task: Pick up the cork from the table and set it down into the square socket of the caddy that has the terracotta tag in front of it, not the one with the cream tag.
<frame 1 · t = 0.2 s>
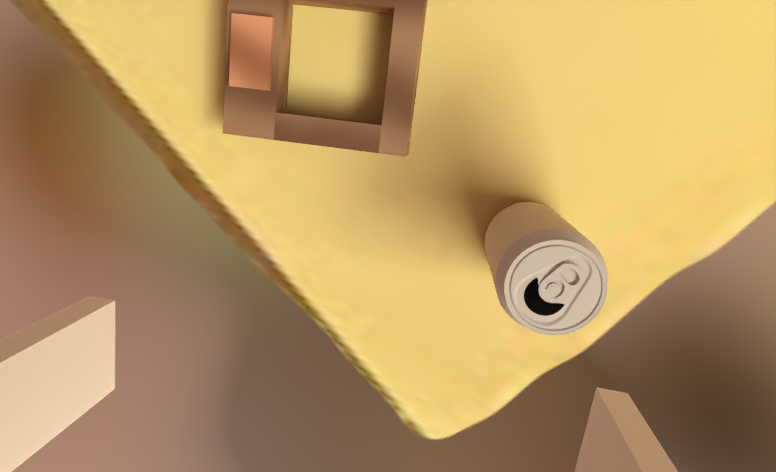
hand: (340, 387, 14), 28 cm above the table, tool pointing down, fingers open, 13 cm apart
beverage can: (524, 239, 40), on the table
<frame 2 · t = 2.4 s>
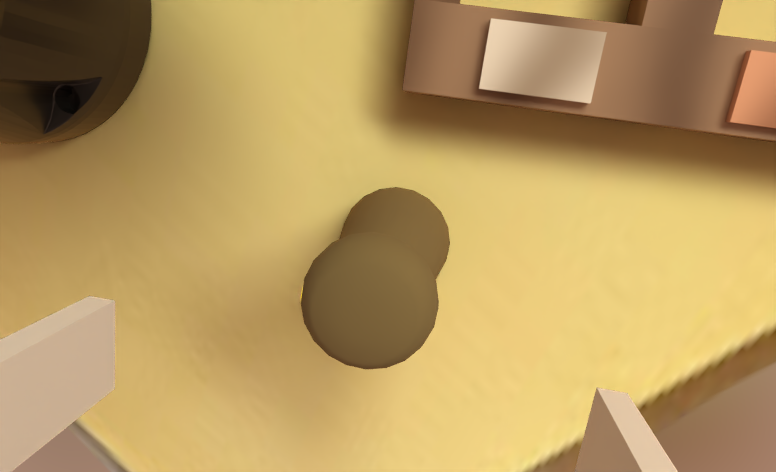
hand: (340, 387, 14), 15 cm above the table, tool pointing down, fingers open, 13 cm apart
cork: (395, 240, 28), on the table
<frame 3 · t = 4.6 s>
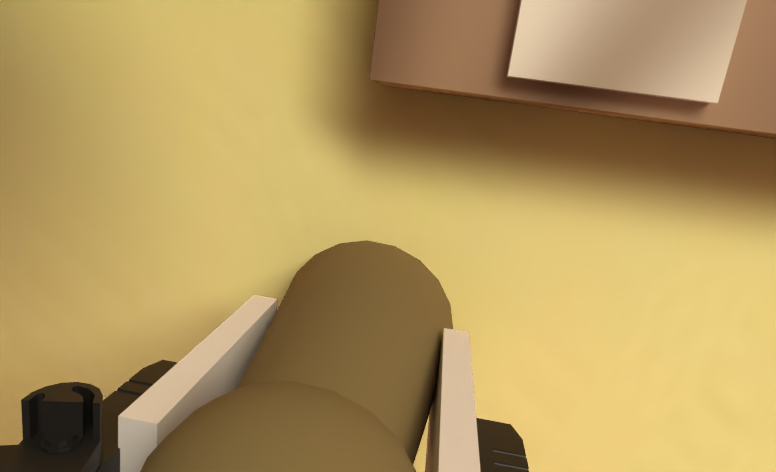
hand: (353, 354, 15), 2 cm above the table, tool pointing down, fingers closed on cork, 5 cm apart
cork: (367, 322, 18), on the table, touching gripper
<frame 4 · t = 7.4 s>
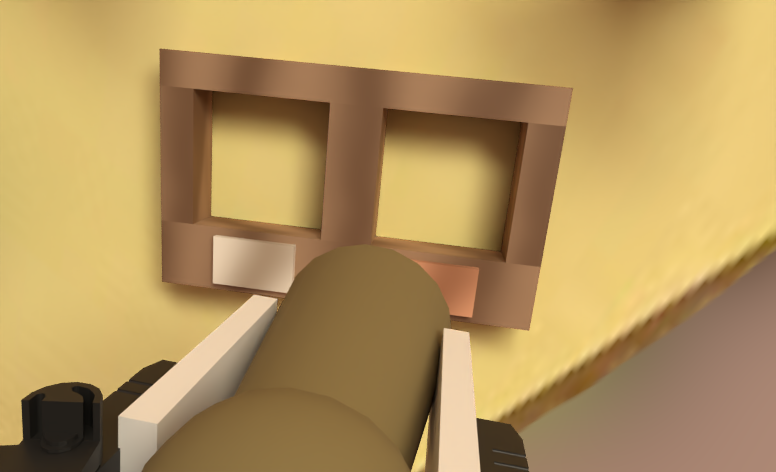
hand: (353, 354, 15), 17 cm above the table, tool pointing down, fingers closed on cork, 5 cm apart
cork: (365, 325, 18), point 15 cm above the table, touching gripper
caddy: (356, 187, 32), on the table
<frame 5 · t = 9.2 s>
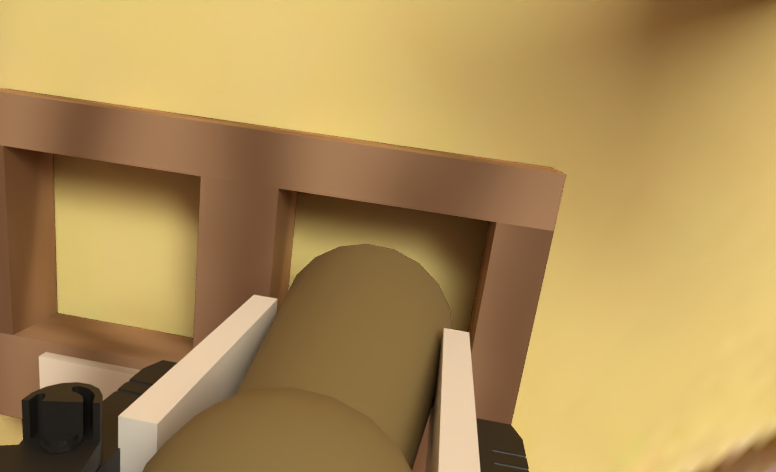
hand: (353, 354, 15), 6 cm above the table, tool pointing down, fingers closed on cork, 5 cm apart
cork: (366, 325, 18), point 4 cm above the table, touching gripper
caddy: (255, 286, 22), on the table
when the fingers open (3 cm above the table, at t = 10.4 s): cork drops 1 cm, resting in caddy.
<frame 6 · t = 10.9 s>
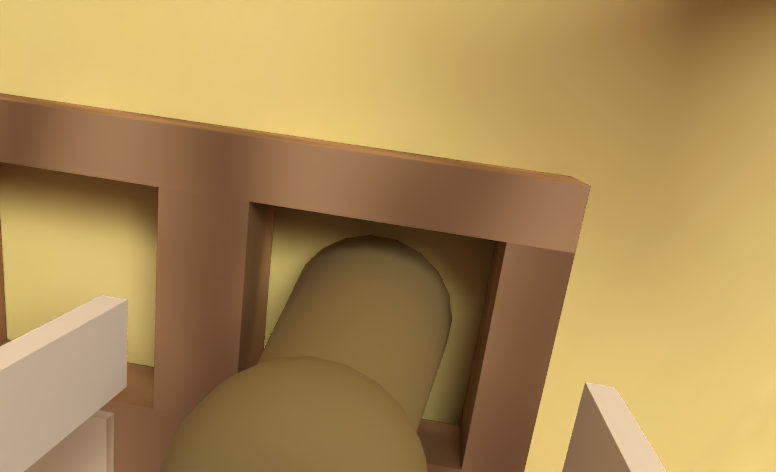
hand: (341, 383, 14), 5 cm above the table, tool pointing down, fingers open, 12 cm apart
cork: (371, 312, 19), resting in caddy
caddy: (228, 311, 19), on the table
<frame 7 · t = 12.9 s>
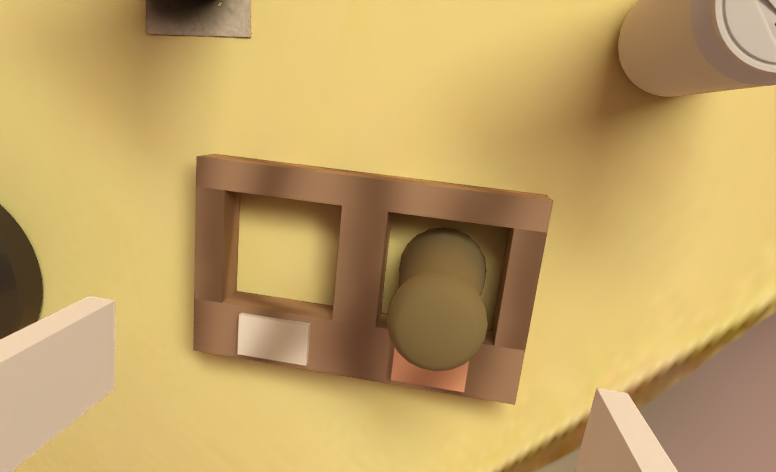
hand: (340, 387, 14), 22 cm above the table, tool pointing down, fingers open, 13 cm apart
cork: (442, 269, 35), resting in caddy
caddy: (364, 271, 36), on the table
beverage can: (668, 42, 30), on the table
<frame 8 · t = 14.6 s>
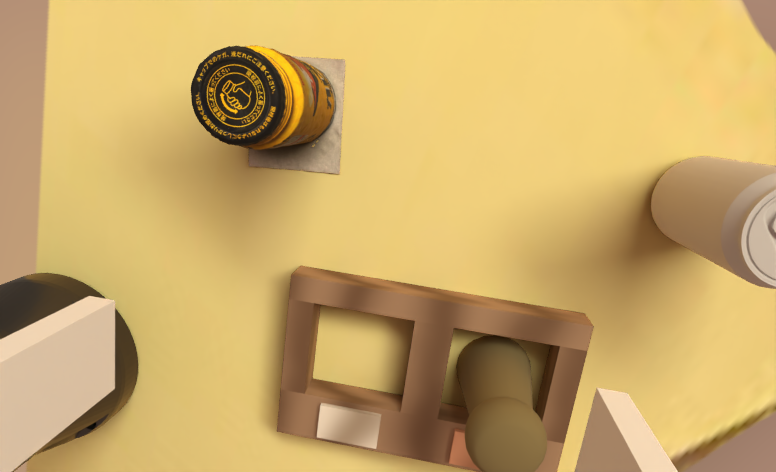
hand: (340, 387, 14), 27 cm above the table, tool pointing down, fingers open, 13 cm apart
cork: (493, 368, 42), resting in caddy
caddy: (426, 367, 42), on the table
beverage can: (691, 198, 37), on the table
condiment: (297, 114, 39), on the table
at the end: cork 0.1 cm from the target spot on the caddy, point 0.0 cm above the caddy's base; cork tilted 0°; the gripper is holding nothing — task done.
